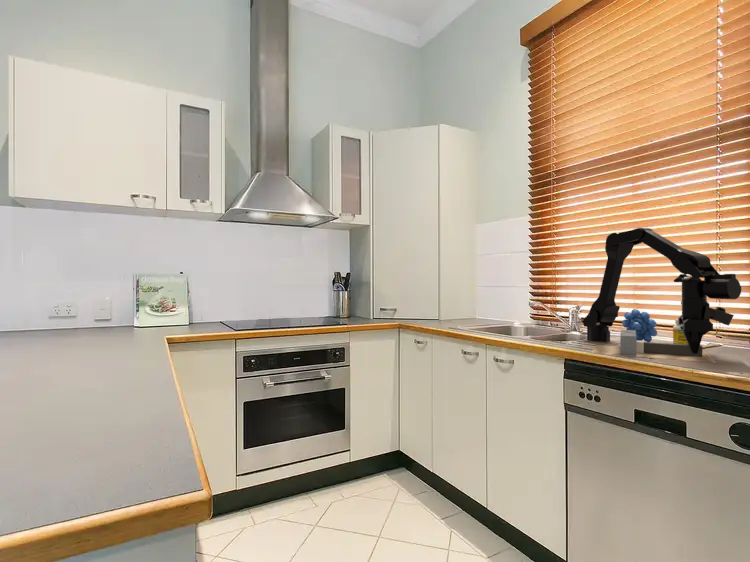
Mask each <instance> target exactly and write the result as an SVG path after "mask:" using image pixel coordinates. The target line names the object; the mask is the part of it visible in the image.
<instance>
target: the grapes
mask: <svg viewBox="0 0 750 562" xmlns="http://www.w3.org/2000/svg"><path fill="white" fill-rule="evenodd" d="M630 311H631V312H625V313H624V314H623V317H624V319H623V320H622V321H621V324H622V326H623V328H626V329H625V330H636V340H638V341H643V342H652V340H653V337H657V336H658V330H657V329H656V327H657V325H658V324H657V322H656V321H655V320H654V319H652V318H650V317H651V316H650V314H649V313H648V312H646V311H642V312H641V311H640V310H639V309H635V308H633V309H632V310H630Z"/></svg>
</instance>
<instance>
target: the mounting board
mask: <svg viewBox="0 0 750 562" xmlns="http://www.w3.org/2000/svg"><path fill="white" fill-rule="evenodd" d="M591 354H597V355H608V356H609V355H611V356H622V357H623V356H624V357H632V356H631V355H620V346H619V345H618V346H617V345H605V344H604V345H603V344H595V345H594V347H593V349H592V351H591ZM633 357H634V358H650V359H664V360H676V361H690V362H701V363H702V362H703V363H704V362H705V363H715V364H717V361H716V360H715V359H714V358H713V357H712V356H710V355H709V353H707V351H702V357H694V356H681V355H667V354H653V353H636V356H633Z"/></svg>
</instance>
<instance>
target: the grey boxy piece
mask: <svg viewBox="0 0 750 562" xmlns="http://www.w3.org/2000/svg"><path fill="white" fill-rule="evenodd" d="M619 338H620V341H619V344H620V355H619V356H621V355H631V356H630V357H634V356H636V330H626V329H621V330H620V337H619Z"/></svg>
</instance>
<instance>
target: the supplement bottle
mask: <svg viewBox="0 0 750 562" xmlns="http://www.w3.org/2000/svg"><path fill="white" fill-rule="evenodd" d="M674 323H675V325H673V326H672V336H673V337H672V342H673V343H672V344H687V345H688V343H687V341H686V339H685V336H684V334H683V332H682V330H681V328H680V326H683V324H681V325H679V324H678V318H676V319H675V320H674Z"/></svg>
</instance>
